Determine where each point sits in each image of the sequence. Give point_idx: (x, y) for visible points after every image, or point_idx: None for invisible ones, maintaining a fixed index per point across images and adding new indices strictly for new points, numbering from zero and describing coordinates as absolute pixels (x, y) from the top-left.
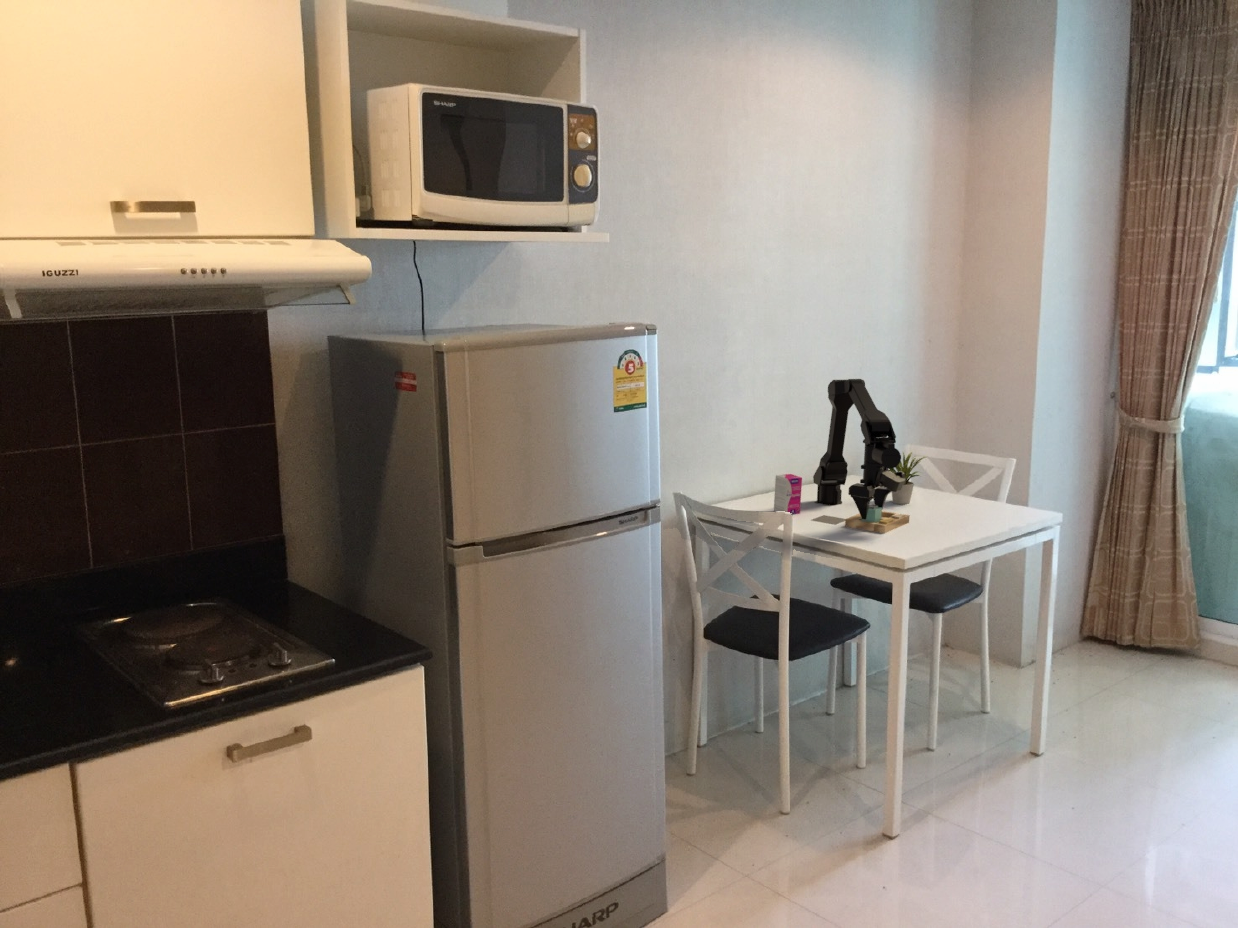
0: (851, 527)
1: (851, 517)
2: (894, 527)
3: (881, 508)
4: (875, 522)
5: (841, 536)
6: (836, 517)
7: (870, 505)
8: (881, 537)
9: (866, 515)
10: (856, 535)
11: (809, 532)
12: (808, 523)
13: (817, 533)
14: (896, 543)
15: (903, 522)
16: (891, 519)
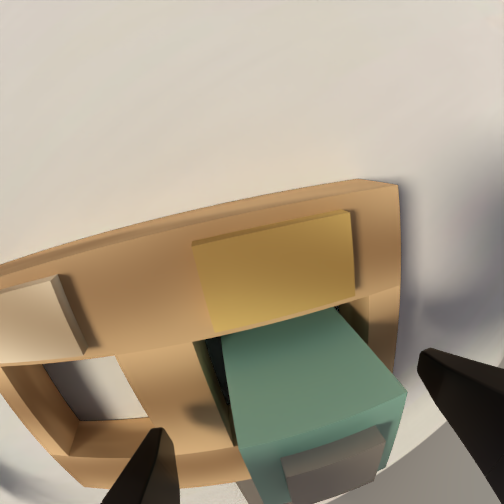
0: None
1: None
2: (183, 216)
3: (242, 439)
4: (330, 325)
5: (485, 299)
6: (247, 496)
7: (340, 485)
8: (419, 155)
9: (450, 358)
10: (454, 276)
11: None
12: None
13: None
14: (441, 39)
15: (25, 260)
16: (136, 306)
